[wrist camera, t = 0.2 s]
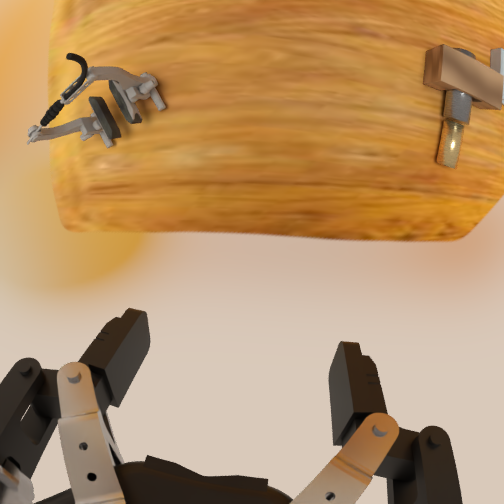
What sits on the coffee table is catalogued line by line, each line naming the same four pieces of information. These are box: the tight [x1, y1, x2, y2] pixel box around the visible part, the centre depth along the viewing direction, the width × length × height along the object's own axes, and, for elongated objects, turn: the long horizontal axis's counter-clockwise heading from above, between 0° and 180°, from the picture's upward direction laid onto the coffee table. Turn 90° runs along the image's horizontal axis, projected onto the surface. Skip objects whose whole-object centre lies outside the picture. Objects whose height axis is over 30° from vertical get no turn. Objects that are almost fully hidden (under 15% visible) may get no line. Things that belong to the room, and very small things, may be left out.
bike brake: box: [27, 53, 166, 148], centre depth 27 cm, size 14×7×20 cm, turn 117°
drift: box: [436, 120, 464, 169], centre depth 32 cm, size 6×3×3 cm, turn 173°
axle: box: [443, 48, 476, 125], centre depth 28 cm, size 10×4×4 cm, turn 173°
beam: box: [423, 44, 504, 110], centre depth 26 cm, size 5×10×5 cm, turn 83°
